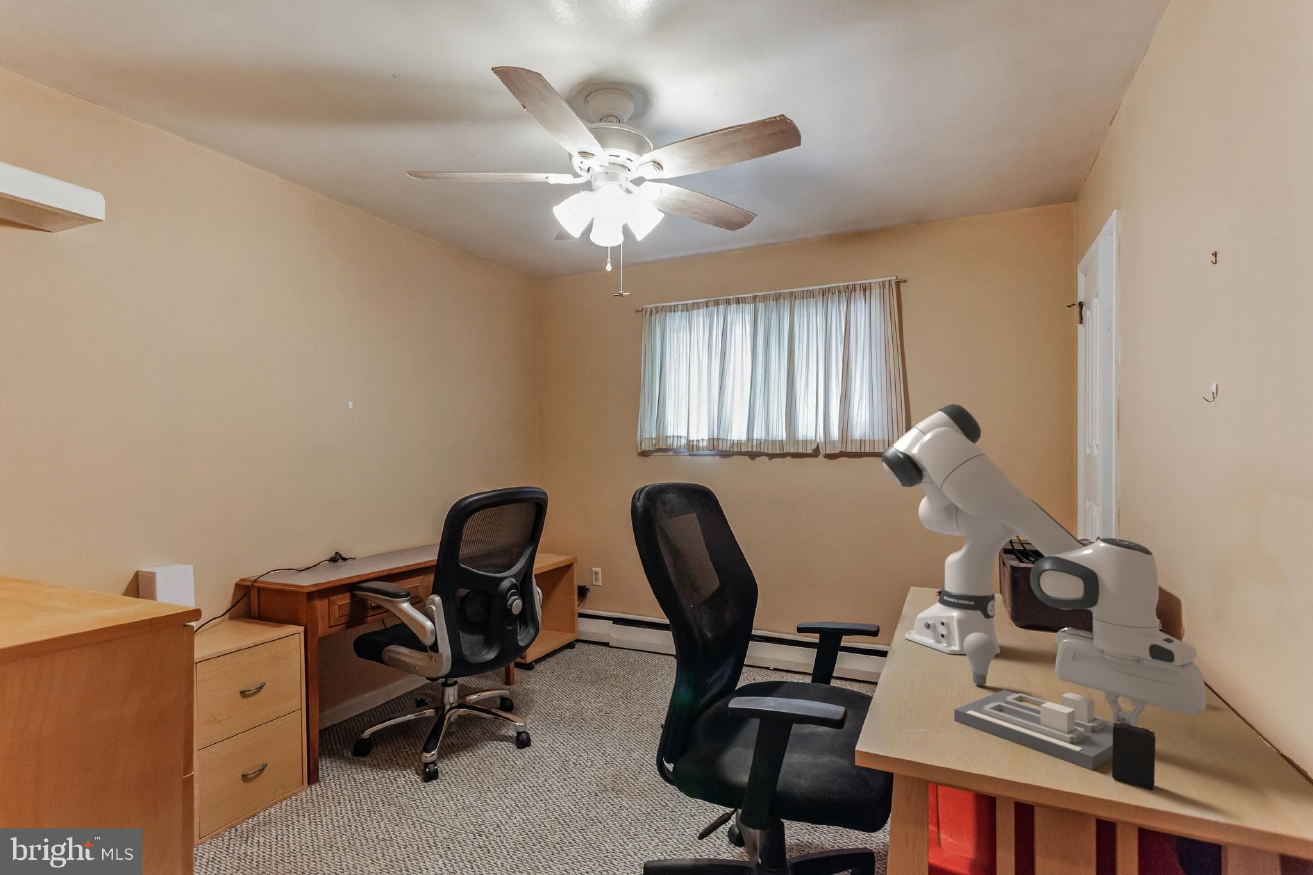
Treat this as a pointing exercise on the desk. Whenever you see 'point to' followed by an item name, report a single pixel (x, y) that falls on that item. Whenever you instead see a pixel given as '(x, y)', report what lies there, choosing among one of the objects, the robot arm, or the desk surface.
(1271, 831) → the desk surface
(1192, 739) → the desk surface
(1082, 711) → the switch tab
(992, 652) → the lightbulb
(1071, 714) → the switch tab
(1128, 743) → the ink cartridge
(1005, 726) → the switch panel
